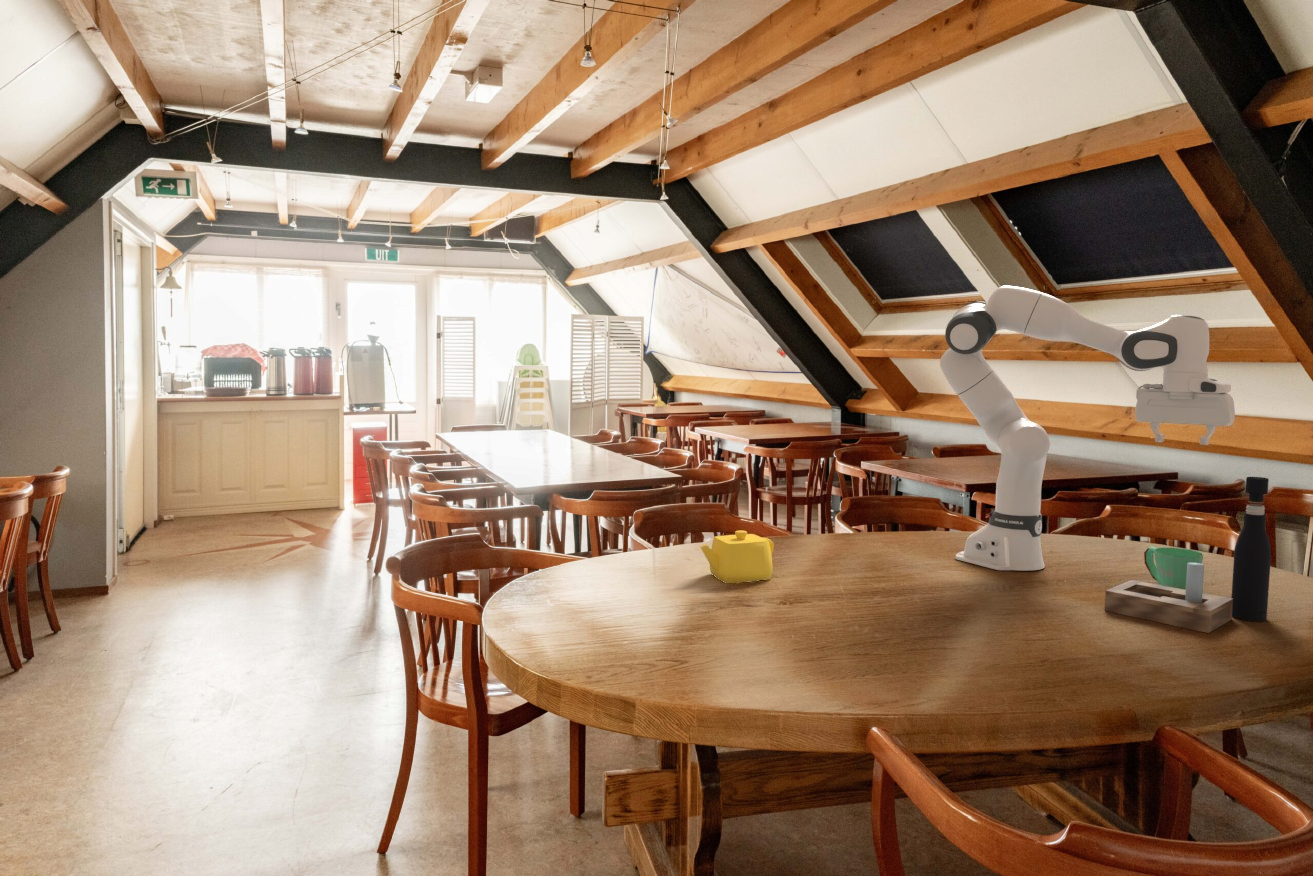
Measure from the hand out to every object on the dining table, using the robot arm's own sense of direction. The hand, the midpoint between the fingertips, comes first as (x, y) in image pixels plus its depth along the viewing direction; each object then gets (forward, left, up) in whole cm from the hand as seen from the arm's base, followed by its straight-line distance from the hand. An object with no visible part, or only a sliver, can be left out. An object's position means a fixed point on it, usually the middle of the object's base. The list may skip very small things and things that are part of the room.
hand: (1181, 443), depth 200 cm
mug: (0, -3, -35) cm, 35 cm away
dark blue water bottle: (+19, -12, -35) cm, 42 cm away
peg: (+12, -24, -35) cm, 44 cm away
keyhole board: (+7, -24, -35) cm, 43 cm away
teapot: (-75, -72, -35) cm, 110 cm away
